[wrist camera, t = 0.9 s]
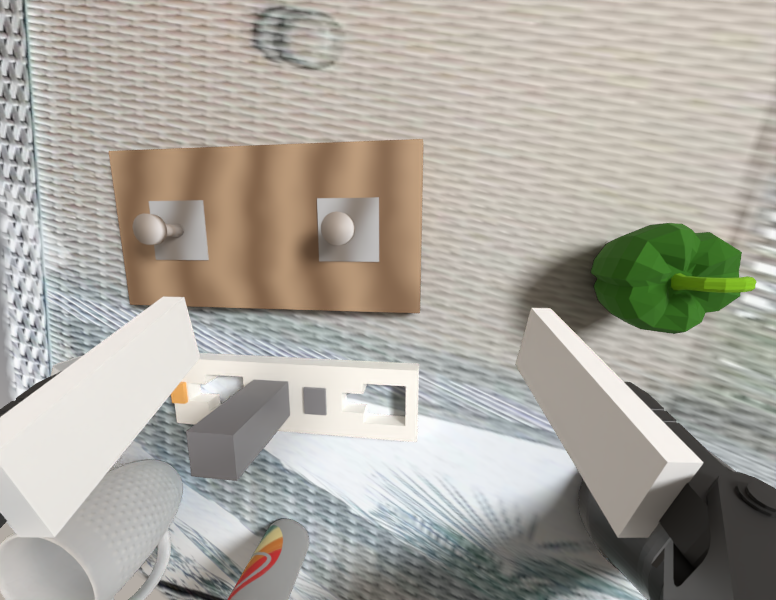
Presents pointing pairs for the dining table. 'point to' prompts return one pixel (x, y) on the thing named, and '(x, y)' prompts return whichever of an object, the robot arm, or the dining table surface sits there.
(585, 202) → the dining table surface
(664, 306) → the bell pepper
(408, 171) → the pin board
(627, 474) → the robot arm
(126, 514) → the mug
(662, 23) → the dining table surface
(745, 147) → the dining table surface
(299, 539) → the lotion bottle
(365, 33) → the dining table surface
